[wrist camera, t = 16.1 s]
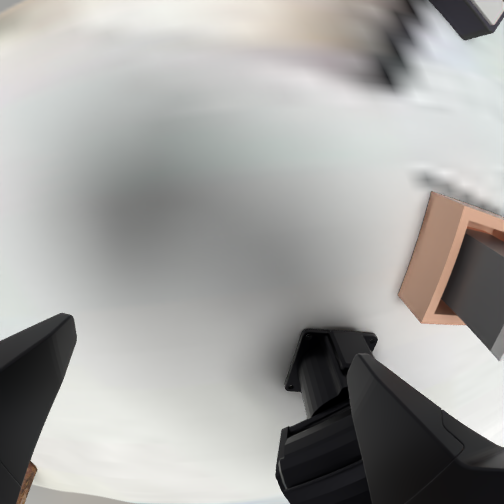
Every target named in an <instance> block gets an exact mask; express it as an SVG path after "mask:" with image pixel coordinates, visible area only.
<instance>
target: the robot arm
mask: <svg viewBox="0 0 504 504" xmlns="http://www.w3.org/2000/svg"><path fill="white" fill-rule="evenodd" d="M307 335H310V336H309V337H306V336H307ZM371 339H372V340H371ZM370 340H371V341H370ZM377 340H378V339H377V336H376V335H375V334H373V333H361V332H354V331H339V330H331V331H329V330H317V329H306V330H304V331H303V332H302V333H301V336H300V339H299V343H298V346H297V349H296V352H295V355H294V358H293V361H292V364H291V367H290V370H289V373H288V376H287V379H286V381H285V389H286V390H287V391H295V392H302V397H303V401H304V406H305V410H306V415H307V420H304V421H302V422H300V423H298V424H296V425H294V426H291V427H289V426H288V427H286V428H284V429H282V431H281V438H280V444H279V451H278V457H277V464H276V474H275V476H276V479H277V481H278V484H279V486H280V489H281V491H282V492H283V494H284V496H285V497H286V498H287V500H288V501H289V503H290V504H504V447H501V446H498V445H496V444H494V443H493V442H491V441H489V440H488V439H486V438H485V437H483V436H481V435H480V434H478V433H476V432H475V431H473V430H471V429H470V428H468V427H467V426H465V425H464V424H462V423H461V422H459V421H458V420H456V419H455V418H453V417H452V416H451V415H449V414H448V413H447V412H445V411H444V410H441V408H440V407H439V406H437V405H436V404H435V403H433V402H432V401H430V400H429V399H428V398H426V397H425V396H424V395H422V394H421V393H420V392H418V391H417V390H416V389H414V388H413V387H412V386H410V385H409V384H408V383H406V382H405V381H404V380H402V379H401V378H400V377H398V376H397V375H396V374H394V373H393V371H390V370H389V369H388V368H387V367H385V366H384V365H383V364H381V363H380V362H379V361H377V360H376V359H375V358H374V356H373V354H372V352H373V350H374V347H375V345H376V343H377ZM76 341H77V335H76V329H75V322H74V318H73V316H72V315H69V314H65V313H60V314H57V315H55V316H53V317H51V318H49V319H47V320H44V321H42V322H40V323H38V324H36V325H34V326H31V327H29V328H27V329H25V330H23V331H21V332H18V333H16V334H14V335H12V336H10V337H8V338H6V339H4V340H1V341H0V504H16V503H17V500H18V497H19V493H20V490H21V486H22V483H23V480H24V477H25V474H26V471H27V468H28V465H29V463H30V460H31V457H32V454H33V452H34V449H35V446H36V444H37V441H38V438H39V436H40V433H41V431H42V428H43V426H44V423H45V421H46V419H47V416H48V414H49V411H50V409H51V407H52V404H53V402H54V400H55V398H56V395H57V393H58V391H59V389H60V386H61V384H62V382H63V379H64V376H65V374H66V370H67V367H68V365H69V362H70V359H71V356H72V353H73V350H74V347H75V345H76ZM290 385H292V386H290Z"/></svg>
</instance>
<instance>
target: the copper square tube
mask: <svg viewBox="0 0 504 504" xmlns="http://www.w3.org/2000/svg"><path fill="white" fill-rule="evenodd" d="M467 226H468V227H472V228H476V229H480V230H484V231H486V232H488V233H490V234H491V235H493V236H495V237H497V238H498V239H500V240H502V241H503V242H504V217H502V216H500V215H497V214H495V213H492V212H489V211H487V210H484V209H482V208H479V207H476V206H473V205H471V204H468V203H465V202H462V201H459V200H456V199H453V198H451V197H448V196H445V195H442V194H438V193H435V192H432V191H431V195H430V199H429V203H428V206H427V210H426V214H425V217H424V220H423V224H422V227H421V230H420V234H419V237H418V240H417V243H416V246H415V249H414V252H413V255H412V258H411V261H410V264H409V267H408V270H407V272H406V275H405V278H404V281H403V283H402V286H401V289H400V291H399V294H398V296H399V297H400V298H401V300H402V301H403V302H404V303H405V304H406V306H407V307H408V308H409V309H410V311H411V312H412V313H413V314H414V315H415V317H416V318H417V319H418V320H419V322H420V323H422V324H445V325H466V324H465V323H464V322H463V321H462V320H461V319H460V318H459V317H458V316H457V315H456V314H455V313H454V311H453V310H452V309H451V308H450V307H449V306H448V305H447V304H446V303H445V302H444V301H443V300H442V299H441V297H442V294H443V292H444V290H445V287H446V285H447V282H448V280H449V277H450V275H451V272H452V269H453V267H454V264H455V261H456V258H457V256H458V253H459V250H460V247H461V244H462V241H463V238H464V235H465V232H466V229H467Z"/></svg>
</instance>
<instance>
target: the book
mask: <svg viewBox="0 0 504 504" xmlns="http://www.w3.org/2000/svg"><path fill="white" fill-rule="evenodd" d="M36 471H37V468H36V467H35V465H34V464H33V463H32V462H31V461H30V463H29V465H28V468H27V471H26V474H25V477H24V480H23V483H22V486H21V490H20V493H19V497H18V500H17V503H16V504H24V503H25V500H26V498H27V495H28V492H29V489H30V487H31V484H32V482H33V479H34V476H35V474H36Z"/></svg>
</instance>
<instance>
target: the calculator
mask: <svg viewBox="0 0 504 504" xmlns="http://www.w3.org/2000/svg"><path fill="white" fill-rule="evenodd" d="M429 1H430V2H431V3H432V4H433V5H434V6H435V8H436V9H437V10H438V11H439V12H440V13H441V14H442V15H443V16H444V18H445V19H446V20H447V21H448V22H449V23H450V25H451V26H452V27H453V28H454V29H455V31H456V32H457V33H458V34H459V36H460V37H461V38H462V39H463V40H468V39H472V38H476V37H479V36H483V35H487V34H491V33H493V32H494V31H495V30H496V28H497V27H498V25H499V24H500V22H501V21H502V19H503V18H504V0H429Z"/></svg>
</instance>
